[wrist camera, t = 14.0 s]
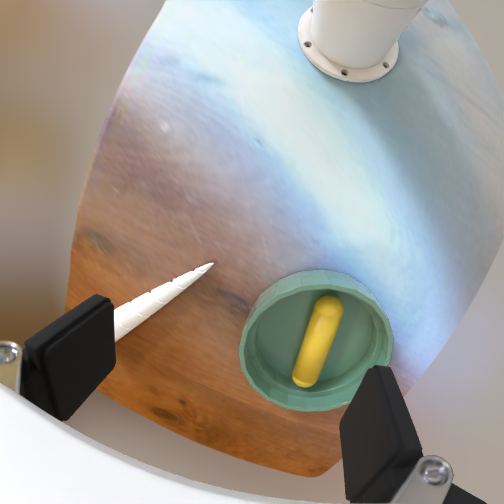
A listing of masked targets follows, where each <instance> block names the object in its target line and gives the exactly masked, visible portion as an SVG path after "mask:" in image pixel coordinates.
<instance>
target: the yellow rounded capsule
mask: <svg viewBox="0 0 504 504" xmlns="http://www.w3.org/2000/svg"><path fill="white" fill-rule="evenodd" d="M343 311H344V308H343V304H342V302H341V300H340V299H339V298H338V297H336V296H334V295H324V296H322V297H320V298H319V299H318V300H317V301H316V303H315V305H314V308H313V311H312V315H311V318H310V321H309V324H308V327H307V330H306V333H305V336H304V340H303V343H302V346H301V348H300V351H299V354H298V357H297V360H296V363H295V366H294V369H293V372H292V378H293V381H294V383H295V384H296V385H298V386H300V387H303V388H307V387H311V386H312V385H314V384H315V383H316V382H317V380H318V378H319V375H320V373H321V371H322V368H323V366H324V363H325V361H326V358H327V356H328V353H329V351H330V348H331V345H332V343H333V340H334V337H335V335H336V332H337V329H338V326H339V324H340V321H341V318H342V315H343Z"/></svg>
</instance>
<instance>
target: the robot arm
mask: <svg viewBox="0 0 504 504" xmlns="http://www.w3.org/2000/svg"><path fill="white" fill-rule="evenodd" d="M426 2H427V0H314V4H313V6H312V7H310V8H309V9H308V10H307V11H306V12H305V13H304V15H303V16H302V18H301V20H300V23H299V27H298V39H299V43H300V46H301V48H302V50H303V52H304V54H305V56H306V57H307V58H308V59H309V61H310V62H311V63H312V64H314V65H315V66H316V67H317V68H318V69H320V70H321V71H323V72H324V73H326V74H328V75H330V76H332V77H334V78H336V79H340V80H343V81H347V82H354V83H364V82H370V81H374V80H377V79H379V78H381V77H383V76H384V75H386V74H387V73H388V72H389V71H390V70H391V69H392V68H393V66H394V65H395V63H396V61H397V58H398V54H399V45H398V38H399V37H400V36H401V34H402V33H403V32H404V31H405V29H406V28H407V27H408V25H409V24H410V23H411V21H412V20H413V19H414V17H415V16H416V15H417V14H418V12H419V11H420V10H421V8H422V7H423V6H424V4H425V3H426ZM306 46H309V47H306ZM384 66H385V67H386V68H385V67H384ZM342 73H344V74H346V76H344V75H342ZM24 343H25V348H24V349H23V350H22V349H21V347H20V346H19V345H18V344H17V343H15V342H12V341H0V504H347V503H323V502H308V501H297V500H288V499H281V498H273V497H267V496H260V495H255V494H249V493H244V492H240V491H234V490H230V489H226V488H221V487H218V486H213V485H210V484H206V483H203V482H199V481H196V480H192V479H189V478H185V477H182V476H179V475H176V474H173V473H170V472H167V471H165V470H162V469H159V468H156V467H154V466H151V465H149V464H145V463H143V462H141V461H138V460H136V459H134V458H131V457H129V456H127V455H125V454H122V453H120V452H118V451H116V450H113V449H111V448H109V447H107V446H105V445H103V444H101V443H99V442H97V441H95V440H93V439H91V438H89V437H87V436H85V435H84V434H82V433H80V432H78V431H76V430H74V429H73V428H71V427H69V426H68V425H66V424H64V423H62V421H63V420H64V421H67V420H68V419H69V418H70V417H71V416H72V415H73V414H74V413H75V411H76V410H77V409H78V408H79V407H80V406H81V404H82V403H83V402H84V401H85V400H86V399H87V398H88V396H89V395H90V394H91V393H92V392H93V391H94V390H95V389H96V388H97V386H98V385H99V384H100V383H101V382H102V381H103V380H104V379H105V378H106V376H107V375H108V374H109V373H110V372H111V371H112V370H113V368H114V367H115V364H116V353H115V331H114V305H113V304H112V303H111V301H110V299H109V298H106V297H103V296H101V295H98V294H95V295H93V296H92V297H90V298H89V299H87V300H85V301H84V302H82V303H81V304H79V305H78V306H76V307H75V308H73V309H72V310H70V311H69V312H67V313H66V314H64V315H63V316H62V317H60V318H58V319H57V320H55V321H54V322H52V323H51V324H49V325H48V326H46V327H45V328H44V329H42V330H41V331H39V332H38V333H36V334H35V335H34V336H32V337H31V338H29V339H28V340H26V341H25V342H24ZM339 429H340V438H341V448H342V458H343V468H344V479H345V494H346V499H347V500H350V504H487V503H485V502H484V501H482V500H481V499H479V498H477V497H475V496H473V495H472V494H470V493H468V492H466V491H465V490H463V489H461V488H459V487H458V486H456V485H454V484H453V483H452V481H453V476H454V475H453V470H452V467H451V465H450V464H449V463H448V462H447V461H446V460H445V459H443V458H442V457H439V456H435V455H427V456H423V453H422V447H421V444H420V441H419V438H418V436H417V433H416V430H415V427H414V424H413V422H412V419H411V417H410V414H409V411H408V409H407V406H406V404H405V401H404V399H403V396H402V394H401V391H400V389H399V386H398V384H397V382H396V379H395V377H394V374H393V372H392V370H391V368H390V367H388V366H380V365H374V366H373V367H372V368H369V369H368V370H367V371H366V373H365V375H364V377H363V379H362V381H361V383H360V385H359V387H358V389H357V391H356V393H355V395H354V397H353V399H352V401H351V403H350V404H349V406H348V408H347V410H346V412H345V413H344V415H343V417H342V419H341V421H340V426H339Z"/></svg>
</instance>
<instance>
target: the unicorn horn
mask: <svg viewBox="0 0 504 504" xmlns="http://www.w3.org/2000/svg"><path fill="white" fill-rule="evenodd" d="M213 264H214V263H209V264H206V265H204V266H201V267H199V268H197V269H195V270H194V271H190V272H188V273H186V274H184V275H181V276H179V277H177V278H175V279H173V282H167V283H165V284H163V285H161V286H159V287H157V288H155V289H153V290H151V291H152V292H151V293H149V292H147V293H145V294H143V295H141V296H139V297H137V298H136V299H134V300H132V302H128V303H126V304H124V305H122V306H120V307H118V308H116V309H115V310H114V331H115V342H116V341H118V340H119V339H120V338H122V337H123V336H124V335H126V334H127V333H128V332H130V331H131V330H132V329H134V328H135V327H137V326H138V325H139V324H141V323H142V322H143V321H145V320H146V319H147V318H149V317H150V316H151V315H152V314H154V313H155V312H156V311H158V310H159V309H160V308H162V307H163V306H164V305H166V304H167V303H168V302H169V301H171V300H172V299H173V298H175V297H176V296H177V295H178V294H180V293H181V292H182V291H184V290H185V289H186V288H187V287H188V286H190V285H191V284H192V283H193V282H195V281H196V280H197V279H198V278H199V277H201V276H202V275H203V274H204V273H205V272H206V271H208V269H209V268H211V266H212V265H213Z"/></svg>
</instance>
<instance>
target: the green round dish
mask: <svg viewBox="0 0 504 504" xmlns="http://www.w3.org/2000/svg"><path fill="white" fill-rule="evenodd" d="M324 295H334V296H336V297H338V298H339V299H340V300H341V302H342V304H343V308H344V311H343V315H342V318H341V321H340V324H339V326H338V329H337V332H336V335H335V337H334V340H333V343H332V345H331V348H330V351H329V353H328V356H327V358H326V361H325V363H324V366H323V368H322V371H321V373H320V375H319V378H318V380H317V382H316V383H315V384H314V385H312V386H311V387H307V388H303V387H300V386H298V385H296V384H295V383H294V381H293V378H292V372H293V369H294V366H295V363H296V360H297V357H298V354H299V351H300V348H301V346H302V343H303V340H304V336H305V333H306V330H307V327H308V324H309V321H310V318H311V315H312V311H313V308H314V305H315V303H316V301H317V300H318V299H319V298H320V297H322V296H324ZM392 348H393V335H392V331H391V327H390V323H389V319H388V318H387V316H386V314H385V313H384V311H383V309H382V308H381V306H380V304H379V303H378V301H377V300H376V299H375V297H374V296H373V295H372V293H371V292H370V291H369V289H368V288H367V287H366V286H365V285H363V284H362V283H360V282H359V281H357V280H355V279H354V278H352V277H351V276H349V275H347V274H343V273H339V272H335V271H330V270H326V269H325V270H324V269H322V270H309V271H300V272H297V273H295V274H292V275H289V276H287V277H284V278H282V279H279V280H278V281H276V282H275V283H274V284H273V285H271V286H270V287H269V288H268V289H266V290H265V291H264V292H263V293H261V295H260V296H259V298H258V299H257V301H256V302H255V304H254V305H253V307H252V308H251V310H250V312H249V315H248V317H247V320H246V323H245V326H244V329H243V333H242V337H241V342H240V346H239V356H240V362H241V368H242V371H243V373H244V375H245V376H246V378H247V380H248V381H249V383H250V385H251V387H253V388H254V389H255V390H256V391H257V392H258V393H259V394H261V395H262V396H263V397H264V398H265V399H266V400H268V401H270V402H273V403H275V404H277V405H279V406H281V407H284V408H286V409H292V410H297V411H303V412H314V411H327V410H331V409H335V408H338V407H341V406H344V405H347V404H350V403H351V401H352V399H353V397H354V395H355V393H356V391H357V389H358V387H359V385H360V383H361V381H362V379H363V377H364V375H365V373H366V371H367V370H368V369H369V368H372V367H373V366H374V365H380V366H388V364H389V362H390V360H391V355H392Z"/></svg>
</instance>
